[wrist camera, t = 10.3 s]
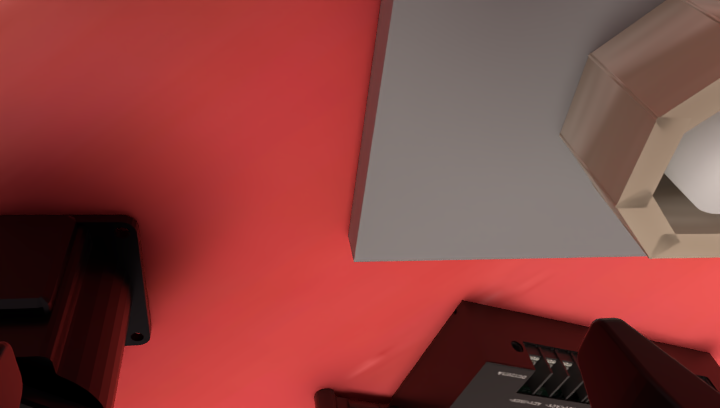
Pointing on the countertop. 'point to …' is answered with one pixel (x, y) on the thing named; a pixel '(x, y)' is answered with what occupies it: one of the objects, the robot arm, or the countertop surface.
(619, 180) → the ring
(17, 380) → the robot arm
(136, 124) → the countertop surface
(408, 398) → the wireless controller
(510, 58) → the post board
